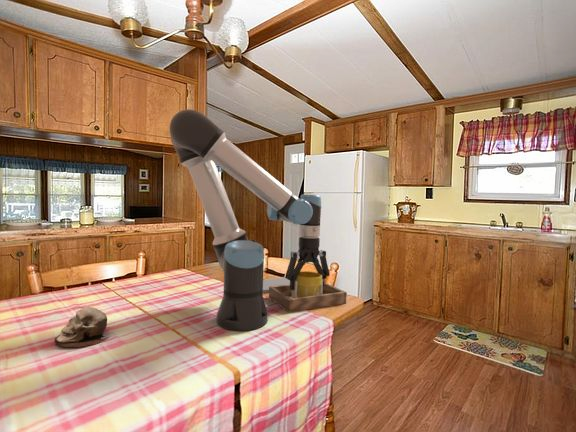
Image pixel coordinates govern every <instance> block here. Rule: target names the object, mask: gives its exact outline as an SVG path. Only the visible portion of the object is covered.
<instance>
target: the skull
mask: <svg viewBox="0 0 576 432" xmlns="http://www.w3.org/2000/svg"><path fill="white" fill-rule="evenodd" d="M107 326H108V317H107V314H106V313H105V312H104V311H102V310H100V309H99V308H95V307H92V306H88V307H83V308H81V309H79V310H77V311H76V313H75V315H74V316H73V317H70V319H69V320H68V322H67V323H66V325H65V326H64V327H62V328H61V332H60V334H58V335H57V336H56V337H55V338H54V343H55V345H57V346H61V347H65V348H73V349H75V348H82V347H87V346H93V345H96V344H100V343H102V342H104V341H107V339H109V338H110V336H108V337H106V336H105V335H104V334H103V333H104V332H105V330H106V328H107Z"/></svg>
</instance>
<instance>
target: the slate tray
mask: <svg viewBox="0 0 576 432" xmlns="http://www.w3.org/2000/svg"><path fill="white" fill-rule="evenodd" d="M289 284H290V280H288V279H286V278H285V276H280V277H273V278H272V277H271V278H263V294H269V287H271V286H280V285H289Z"/></svg>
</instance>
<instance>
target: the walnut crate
mask: <svg viewBox="0 0 576 432" xmlns="http://www.w3.org/2000/svg"><path fill="white" fill-rule="evenodd" d="M291 293H292V290H291V289H290V284H289V285H280V286H271V287H269V293H268V298H269V299H271V300H272V301H273V302H274V303H276V304H277V303H278V304H277V305H279V306H280V305H281V306H282V307H281V306H280V307H281V308H283V309H284V308H285V309H286V310H285V309H284V310H285V311H287V312H288V313H292V312H293V311H294V312H300V311H305V310H311V309H318V308H325V307H330V306H337V305H343V304H347V298H348V297H347V294H348V292H347V291H345V290H342V289H340V288H338V287H335V286H333V285H331V284H329V283H327V282H324V286H323V293H322V295H318V294H317V295H315V296H307V297H300V298H291ZM289 296H290V297H289Z"/></svg>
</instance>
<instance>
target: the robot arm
mask: <svg viewBox="0 0 576 432" xmlns="http://www.w3.org/2000/svg"><path fill="white" fill-rule="evenodd" d="M169 136H170V141H171V144H172V146H173V148H174V149H175V152H176V154H177V155H176V156H177V158H178V159H179V161H180V164H181V166H183V167H186V168H187V169H188V171H189V174H190V176H191V180H192V182H193V185H194V186H195V187H194V188H195V189H196V192H197V194H198V197H199V200H200V203H201V205H202V207H203V211H204V213H205V215H206V218H207V220H208V224H209V226H210V229H211V231H212V234H213V237H214V239H213V241H212V246H213V249H214V251H215V255H216V257H217V261H218V265H220V268H221V269H222V271H223V296H222V299H221V301H220V304H219V308H218V309H217V313H216V324H217V325H218V326H220V327H221V328H223V329H226V330H230V331H239V332H240V331H241V332H242V331H243V332H244V331H252V330H256V329H259V328H261V327H264V326H265V325H266V324H267V323H268V319H269V318H268V317H269V313H268V309H267V305H266V302H265V299H264V295H263V294H264V293H263V279H264V269H265V268H264V267H265V264H264V263H265V262H264V261H265V251H264V250H265V249H264V246H263V245H262V244H261V243H259V242H255V241H252V240H249V238H248V235H247V232H246V230H245V229H242V228H240V226H239V224H238V220H237V218H236V215H235V212H234V210H233V208H232V204H231V202H230V199H229V197H228V194H227V191H226V188H225V186H224V183H223V181H222V179H221V175H220V172H219V170H218V167H220V168H221V169H222V170H223V171H225V173H227V175H229V176H231V177H232V178H233V179H234V180H236V181H238V183H240V184H241V185H243V186H244V187H245V188H247V189H248V190H249V191H250V192H251V193H253V194H254V195H255V196H256V197H258V198H259V199H260V200H262V201H263V202H264V203H266V205H267V206H266V213H267V218H268V219H269V220H271V221H284V222H288V223H291V224H294V225H299V231H298V235H299V237H298V251H291V252H290V259H289V262H288V265H287V269H286V273H285V275H284V277H285V278H286V279H288V280H290V289H291V290H292V293H291V296H290V298H291V299H292V298H297V281H295V280H296V278H297V277H298V275H299V273H300V271H302V269H303V267H304V266H305V265H306V264H308V263H312V264H313V266H314V268H315V270H316V273H320V274H321V275H322V283H321V285H320V286H319V290H318V293H317V295H322V294H324V293H323V286H324V282H325V281H326V279H327V277H329V276H330V270H329V267H328V266H329V265H328V262H327V261H328V260H327V251H326V250H322V249H320V240H321V239H320V236H321V234H320V233H321V217H322V216H321V215H322V198H321V196H320V195H319V194H306V193H305V194H301V195H300V198H299V197H298V196H297V195H296V194H295V193H293V192H292V191H291V190H290V189H288V188H287V187H286V186H285V185H284V184H282V183H281V182H280V181H279V180H277V178H275V177H274V176H273V175H272V174H270V173H269V172H268V171H266V170H265V169H264V168H263V167H262V166H261V165H259V164H258V163H257V162H256V161H255V160H253V159H252V158H251V157H250V156H248V155H247V154H246V153H244V152H243V150H241V149H240V148H239V147H237V146H236V144H233V142H231V140H229V139H227V137H226V132H225V131H224V130H223V129H221V128H220V127H219V126H218V125H217V124H216V123H214V122H213V121H212V120H211V119H210V118H209V117H207V116H206V115H205V114H203V113H202V112H200V111H198V110H196V109H189V108H188V109H181V110H180V111H178V112H177V113H175V114H174V115H173V116H172V118H171V120H170V122H169ZM217 166H218V167H217ZM318 257H319V259H318ZM325 283H326V282H325Z"/></svg>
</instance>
